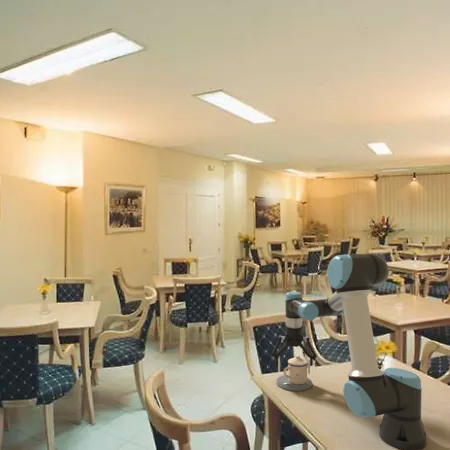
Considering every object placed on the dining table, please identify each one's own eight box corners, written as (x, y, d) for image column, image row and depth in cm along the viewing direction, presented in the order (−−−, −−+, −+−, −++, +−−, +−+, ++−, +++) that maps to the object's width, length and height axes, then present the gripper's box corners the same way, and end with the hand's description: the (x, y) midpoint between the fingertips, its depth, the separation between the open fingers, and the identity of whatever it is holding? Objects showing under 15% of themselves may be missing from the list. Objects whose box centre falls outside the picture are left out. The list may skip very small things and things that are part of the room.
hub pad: (318, 387, 184) (318, 385, 184) (287, 393, 178) (287, 390, 178) (299, 375, 199) (299, 372, 199) (270, 380, 193) (270, 377, 193)
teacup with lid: (300, 375, 195) (300, 351, 194) (311, 382, 186) (311, 357, 186) (278, 380, 190) (278, 355, 189) (289, 387, 181) (289, 361, 181)
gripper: (321, 324, 189) (321, 370, 190) (267, 323, 193) (267, 367, 194) (322, 329, 182) (322, 376, 182) (266, 327, 186) (266, 373, 186)
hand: (294, 371), depth 188 cm, fingers open, 13 cm apart
